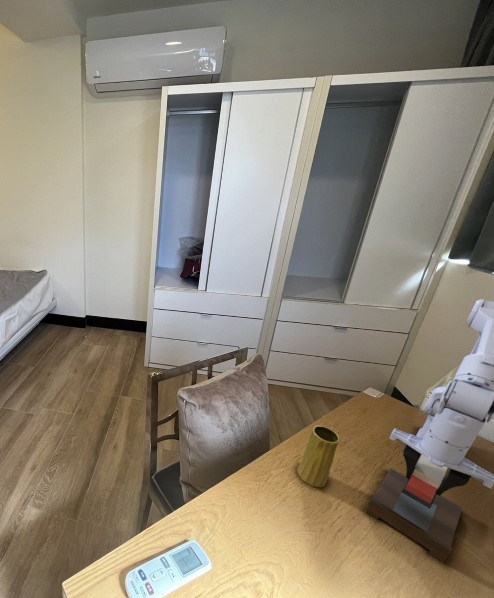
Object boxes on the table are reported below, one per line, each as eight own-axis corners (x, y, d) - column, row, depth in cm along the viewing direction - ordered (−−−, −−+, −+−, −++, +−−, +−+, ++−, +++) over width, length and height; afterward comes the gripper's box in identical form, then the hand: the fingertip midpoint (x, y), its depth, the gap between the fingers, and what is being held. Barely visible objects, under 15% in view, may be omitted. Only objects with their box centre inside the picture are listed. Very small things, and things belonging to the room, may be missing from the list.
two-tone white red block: (413, 467, 71) (420, 453, 69) (440, 481, 67) (449, 467, 66) (401, 492, 66) (408, 477, 64) (430, 508, 62) (438, 494, 61)
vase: (299, 482, 75) (313, 440, 70) (295, 462, 81) (308, 421, 75) (329, 491, 73) (346, 447, 68) (322, 469, 78) (338, 427, 73)
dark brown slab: (388, 473, 77) (393, 462, 75) (458, 513, 68) (466, 501, 66) (365, 512, 69) (371, 500, 67) (442, 563, 59) (451, 551, 58)
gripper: (394, 423, 64) (373, 469, 69) (505, 473, 53) (470, 524, 58) (404, 408, 68) (383, 453, 73) (509, 453, 57) (476, 502, 62)
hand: (423, 483), depth 66 cm, fingers closed on two-tone white red block, 4 cm apart
